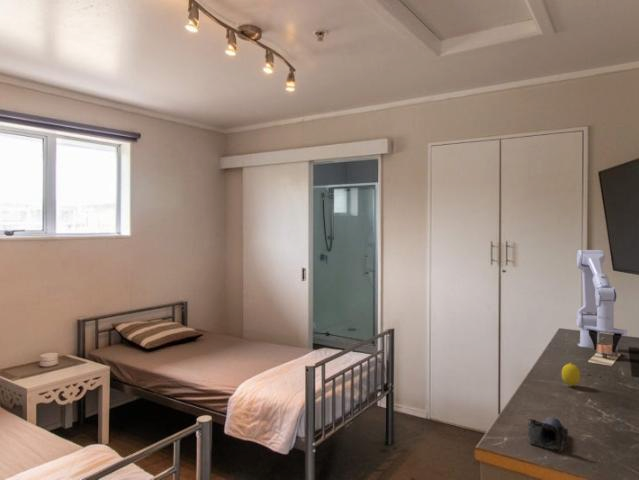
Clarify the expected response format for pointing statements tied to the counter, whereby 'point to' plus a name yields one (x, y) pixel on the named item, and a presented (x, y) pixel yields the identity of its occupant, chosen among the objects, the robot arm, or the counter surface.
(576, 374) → the lemon
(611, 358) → the board
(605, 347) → the gear
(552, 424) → the black camera
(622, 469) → the counter surface
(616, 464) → the counter surface
